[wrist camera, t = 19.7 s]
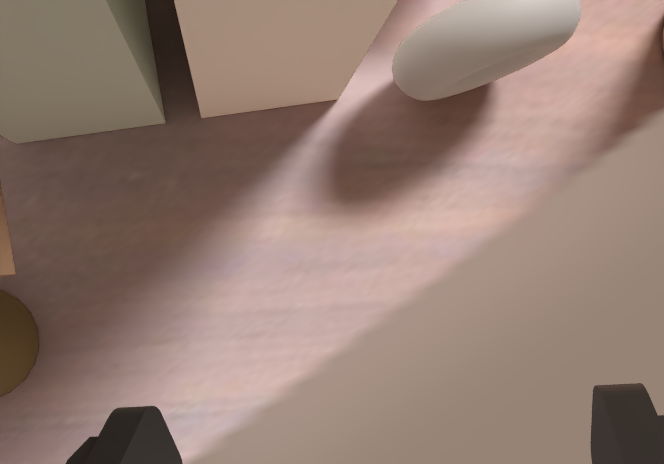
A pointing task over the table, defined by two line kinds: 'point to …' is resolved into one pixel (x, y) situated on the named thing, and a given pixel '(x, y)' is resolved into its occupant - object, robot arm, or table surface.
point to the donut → (480, 44)
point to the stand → (202, 52)
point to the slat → (5, 243)
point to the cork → (16, 342)
